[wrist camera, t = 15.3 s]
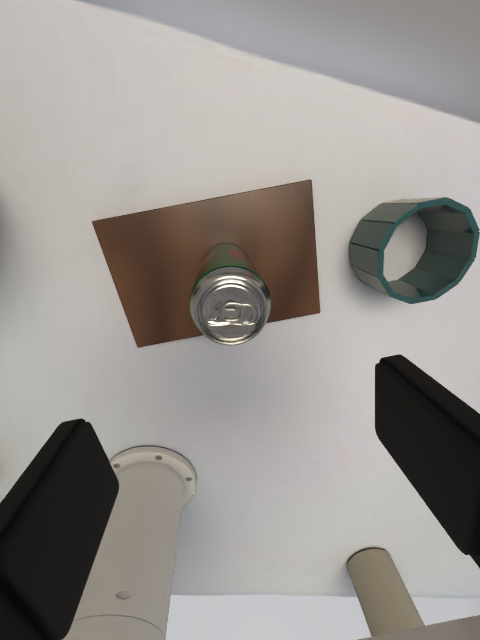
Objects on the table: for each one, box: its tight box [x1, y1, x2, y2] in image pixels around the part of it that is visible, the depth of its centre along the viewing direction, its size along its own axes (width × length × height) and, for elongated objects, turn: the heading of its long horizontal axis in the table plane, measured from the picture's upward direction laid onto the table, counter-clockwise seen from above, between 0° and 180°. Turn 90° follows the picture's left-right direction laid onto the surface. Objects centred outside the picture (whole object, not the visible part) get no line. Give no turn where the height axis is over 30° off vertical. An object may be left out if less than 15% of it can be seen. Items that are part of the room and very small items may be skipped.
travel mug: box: [347, 549, 425, 637], centre depth 42 cm, size 8×8×18 cm
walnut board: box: [92, 180, 320, 347], centre depth 27 cm, size 20×13×1 cm, turn 100°
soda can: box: [189, 244, 271, 345], centre depth 21 cm, size 5×5×12 cm
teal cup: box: [349, 197, 480, 304], centre depth 26 cm, size 9×9×6 cm
